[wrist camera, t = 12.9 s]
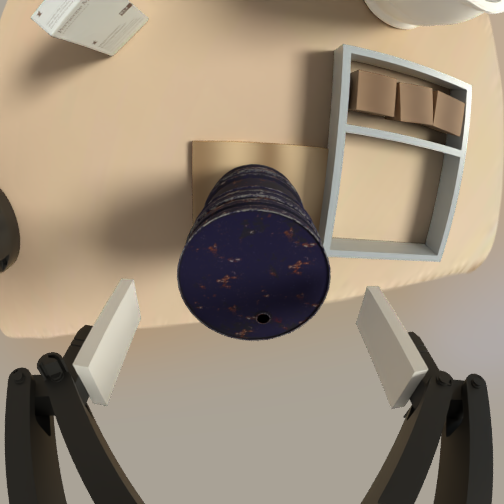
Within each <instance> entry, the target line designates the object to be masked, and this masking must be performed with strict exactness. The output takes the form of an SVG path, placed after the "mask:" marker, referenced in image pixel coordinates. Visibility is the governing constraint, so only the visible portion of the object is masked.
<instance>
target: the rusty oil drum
mask: <svg viewBox="0 0 504 504" xmlns="http://www.w3.org/2000/svg"><path fill="white" fill-rule="evenodd" d="M177 280H178V287H179V291H180V294H181V297H182V299H183V301H184V303H185V305H186V306H187V308H188V309H189V310H190V312H191V313H192V314H193V315H194V316H195V317H196V318H197V319H198V320H199V321H200V322H201V323H202V324H204V325H205V326H207V327H208V328H210V329H211V330H214V331H215V332H217V333H219V334H222V335H224V336H227V337H231V338H235V339H240V340H251V341H252V340H253V341H259V340H268V339H273V338H277V337H281V336H283V335H286V334H289V333H291V332H293V331H295V330H296V329H298V328H299V327H301V326H303V325H304V324H305V323H307V322H308V321H309V320H310V319H311V318H312V317H313V316H314V315H315V314H316V313H317V311H318V310H319V309H320V307H321V306H322V304H323V302H324V300H325V298H326V296H327V293H328V290H329V285H330V265H329V260H328V257H327V254H326V252H325V249H324V247H323V245H322V242H321V239H320V236H319V234H318V231H317V229H316V227H315V225H314V224H313V221H312V219H311V217H310V216H309V214H308V213H307V211H306V210H305V209H304V207H303V203H302V200H301V198H300V196H299V194H298V192H297V191H296V189H295V188H294V186H293V185H292V184H291V182H290V181H289V180H288V179H287V178H286V177H285V176H284V175H283V174H282V173H281V172H279V171H277V170H276V169H274V168H271V167H269V166H266V165H260V164H248V165H242V166H239V167H236V168H234V169H232V170H230V171H229V172H227V173H226V174H224V175H223V176H222V177H221V178H220V179H219V181H218V182H217V183H216V185H215V186H214V187H213V189H212V190H211V192H210V193H209V195H208V197H207V200H206V202H205V205H204V208H203V209H202V211H201V212H200V214H199V215H198V217H197V218H196V220H195V223H194V225H193V227H192V229H191V231H190V233H189V235H188V237H187V241H186V245H185V247H184V249H183V251H182V253H181V256H180V259H179V263H178V269H177Z"/></svg>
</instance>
